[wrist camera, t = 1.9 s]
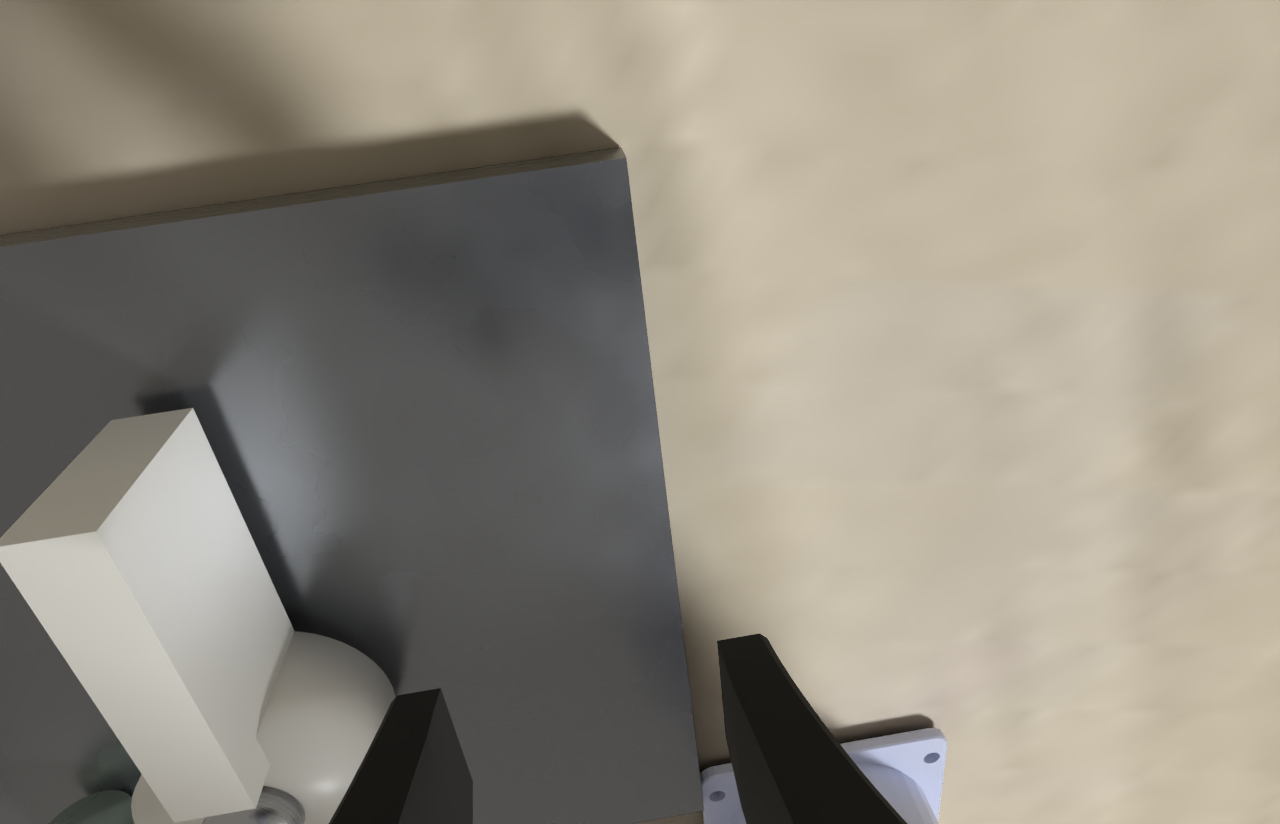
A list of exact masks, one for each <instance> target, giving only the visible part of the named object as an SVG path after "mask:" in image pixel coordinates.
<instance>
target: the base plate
mask: <svg viewBox="0 0 1280 824" xmlns="http://www.w3.org/2000/svg"><path fill="white" fill-rule="evenodd" d="M188 408H193V409H194V411H195V413H196V415H197V418H198V420H199V422H200V424H201V426H202V429H203V431H204V433H205V435H206V437H207V440H208V442H209V444H210V446H211V448H212V451H213V453H214V455H215V457H216V459H217V462H218V464H219V466H220V468H221V471H222V473H223V475H224V477H225V479H226V482H227V484H228V486H229V488H230V490H231V493H232V495H233V497H234V499H235V501H236V504H237V506H238V508H239V510H240V512H241V515H242V517H243V519H244V521H245V523H246V526H247V528H248V530H249V532H250V534H251V537H252V539H253V541H254V543H255V545H256V548H257V550H258V552H259V554H260V556H261V559H262V561H263V563H264V565H265V567H266V570H267V572H268V574H269V576H270V578H271V581H272V583H273V585H274V587H275V589H276V592H277V594H278V596H279V598H280V600H281V603H282V605H283V607H284V609H285V611H286V614H287V616H288V618H289V620H290V622H291V625H292V627H293V629H294V631H298V632H306V633H312V634H318V635H322V636H325V637H329V638H332V639H335V640H338V641H340V642H343V643H345V644H347V645H349V646H351V647H353V648H355V649H357V650H359V651H360V652H362V653H363V654H365V655H366V656H368V657H369V658H370V659H371V660H373V661H374V662H375V663H376V664H377V665H378V666H379V667H380V668H381V669H382V670H383V672H384V673H385V675H386V676H387V677H388V679H389V681H390V683H391V685H392V687H393V690H394V693H395V697H396V696H397V695H403V694H408V693H414V692H420V691H426V690H432V689H438V688H441V690H442V693H443V696H444V699H445V702H446V705H447V708H448V711H449V713H450V716H451V719H452V722H453V725H454V728H455V731H456V734H457V737H458V740H459V742H460V745H461V748H462V751H463V754H464V757H465V760H466V763H467V766H468V768H469V771H470V774H471V777H472V780H473V824H633V823H639V822H644V821H650V820H656V819H661V818H667V817H672V816H678V815H683V814H689V813H695V812H700V811H704V805H703V797H702V788H701V780H700V772H699V763H698V755H697V747H696V738H695V730H694V721H693V713H692V705H691V696H690V688H689V680H688V671H687V663H686V655H685V646H684V638H683V629H682V621H681V613H680V604H679V596H678V588H677V579H676V571H675V562H674V554H673V546H672V537H671V529H670V521H669V512H668V504H667V496H666V487H665V479H664V470H663V462H662V454H661V445H660V437H659V429H658V420H657V412H656V403H655V395H654V387H653V378H652V370H651V362H650V353H649V345H648V336H647V328H646V320H645V311H644V303H643V295H642V286H641V278H640V270H639V261H638V253H637V244H636V236H635V228H634V219H633V211H632V203H631V194H630V186H629V177H628V169H627V161H626V156H625V154H624V152H623V150H622V148H621V147H620V148H613V149H606V150H599V151H592V152H585V153H578V154H571V155H564V156H557V157H550V158H543V159H536V160H529V161H522V162H515V163H508V164H501V165H493V166H486V167H479V168H472V169H465V170H458V171H451V172H444V173H437V174H430V175H423V176H416V177H409V178H402V179H395V180H388V181H381V182H374V183H367V184H360V185H353V186H346V187H338V188H331V189H324V190H317V191H310V192H303V193H296V194H289V195H282V196H275V197H268V198H261V199H254V200H247V201H240V202H233V203H226V204H219V205H212V206H205V207H198V208H191V209H184V210H176V211H169V212H162V213H155V214H148V215H141V216H134V217H127V218H120V219H113V220H106V221H99V222H92V223H85V224H78V225H71V226H64V227H57V228H50V229H43V230H36V231H29V232H21V233H14V234H7V235H0V538H1V537H2V536H3V535H4V533H5V532H6V531H7V530H8V529H9V528H10V527H11V526H12V525H13V524H14V523H15V522H16V521H17V520H18V519H19V518H20V516H21V515H22V514H23V513H24V512H25V511H26V510H27V509H28V508H29V507H30V506H31V505H32V504H33V503H34V502H35V501H36V499H37V498H38V497H39V496H40V495H41V494H42V493H43V492H44V491H45V490H46V489H47V488H48V487H49V486H50V485H51V484H52V483H53V481H54V480H55V479H56V478H57V477H58V476H59V475H60V474H61V473H62V472H63V471H64V470H65V469H66V468H67V467H68V466H69V464H70V463H71V462H72V461H73V460H74V459H75V458H76V457H77V456H78V455H79V454H80V453H81V452H82V451H83V450H84V449H85V447H86V446H87V445H88V444H89V443H90V442H91V441H92V440H93V439H94V438H95V437H96V436H97V435H98V434H99V433H100V432H101V430H102V429H103V428H104V427H105V426H106V425H107V424H108V423H109V422H110V421H111V420H116V419H122V418H129V417H135V416H142V415H149V414H155V413H162V412H168V411H175V410H181V409H188ZM140 777H141V772H140V771H139V769H138V768H137V766H136V765H135V763H134V762H133V760H132V759H131V757H130V756H129V754H128V753H127V751H126V750H125V748H124V747H123V745H122V744H121V742H120V741H119V739H118V738H117V736H116V735H115V733H114V732H113V730H112V729H111V727H110V726H109V724H108V723H107V721H106V720H105V718H104V717H103V715H102V714H101V712H100V711H99V709H98V708H97V706H96V705H95V703H94V702H93V700H92V699H91V697H90V696H89V694H88V693H87V691H86V690H85V688H84V687H83V685H82V684H81V682H80V681H79V680H78V678H77V677H76V675H75V674H74V672H73V671H72V669H71V668H70V666H69V665H68V663H67V662H66V660H65V659H64V657H63V656H62V654H61V653H60V651H59V650H58V648H57V647H56V645H55V644H54V642H53V641H52V639H51V638H50V636H49V635H48V633H47V632H46V630H45V629H44V627H43V626H42V624H41V623H40V621H39V620H38V618H37V617H36V615H35V614H34V612H33V611H32V609H31V608H30V606H29V605H28V603H27V602H26V600H25V599H24V597H23V596H22V594H21V593H20V591H19V590H18V588H17V587H16V585H15V584H14V582H13V581H12V579H11V578H10V576H9V575H8V573H7V572H6V570H5V569H4V567H3V566H2V564H1V563H0V824H135V823H134V820H133V817H132V810H131V802H132V795H133V792H134V789H135V787H136V785H137V783H138V781H139V779H140Z"/></svg>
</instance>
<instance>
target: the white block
mask: <svg viewBox="0 0 1280 824" xmlns="http://www.w3.org/2000/svg"><path fill="white" fill-rule="evenodd" d="M0 563H1V564H2V566H3V567H4V569H5V570H6V572H7V573H8V575H9V576H10V578H11V579H12V581H13V582H14V584H15V585H16V587H17V588H18V590H19V591H20V593H21V594H22V596H23V597H24V599H25V600H26V602H27V603H28V605H29V606H30V608H31V609H32V611H33V612H34V614H35V615H36V617H37V618H38V620H39V621H40V623H41V624H42V626H43V627H44V629H45V630H46V632H47V633H48V635H49V636H50V638H51V639H52V641H53V642H54V644H55V645H56V647H57V648H58V650H59V651H60V653H61V654H62V656H63V657H64V659H65V660H66V662H67V663H68V665H69V666H70V668H71V669H72V671H73V672H74V674H75V675H76V677H77V678H78V680H79V681H80V682H81V684H82V685H83V687H84V688H85V690H86V691H87V693H88V694H89V696H90V697H91V699H92V700H93V702H94V703H95V705H96V706H97V708H98V709H99V711H100V712H101V714H102V715H103V717H104V718H105V720H106V721H107V723H108V724H109V726H110V727H111V729H112V730H113V732H114V733H115V735H116V736H117V738H118V739H119V741H120V742H121V744H122V745H123V747H124V748H125V750H126V751H127V753H128V754H129V756H130V757H131V759H132V760H133V762H134V763H135V765H136V766H137V768H138V769H139V771H140V772H141V777H140V779H139V781H138V783H137V785H136V787H135V789H134V792H133V795H132V802H131V810H132V817H133V820H134V823H135V824H329V822H330V820H331V818H332V817H333V815H334V813H335V811H336V809H337V808H338V806H339V804H340V802H341V801H342V799H343V797H344V795H345V793H346V791H347V789H348V788H349V786H350V784H351V782H352V780H353V778H354V776H355V774H356V772H357V770H358V768H359V767H360V765H361V763H362V761H363V759H364V757H365V755H366V753H367V751H368V749H369V747H370V745H371V743H372V741H373V739H374V737H375V735H376V733H377V731H378V729H379V727H380V725H381V723H382V721H383V719H384V716H385V714H386V712H387V710H388V708H389V706H390V704H391V702H392V701H393V700H394V699H395V693H394V690H393V687H392V685H391V683H390V681H389V679H388V677H387V676H386V675H385V673H384V672H383V670H382V669H381V668H380V667H379V666H378V665H377V664H376V663H375V662H374V661H373V660H371V659H370V658H369V657H368V656H366V655H365V654H363V653H362V652H360V651H359V650H357V649H355V648H353V647H351V646H349V645H347V644H345V643H343V642H340V641H338V640H335V639H332V638H329V637H325V636H322V635H318V634H312V633H306V632H298V631H294V629H293V627H292V625H291V622H290V620H289V618H288V616H287V614H286V611H285V609H284V607H283V605H282V603H281V600H280V598H279V596H278V594H277V592H276V589H275V587H274V585H273V583H272V581H271V578H270V576H269V574H268V572H267V570H266V567H265V565H264V563H263V561H262V559H261V556H260V554H259V552H258V550H257V548H256V545H255V543H254V541H253V539H252V537H251V534H250V532H249V530H248V528H247V526H246V523H245V521H244V519H243V517H242V515H241V512H240V510H239V508H238V506H237V504H236V501H235V499H234V497H233V495H232V493H231V490H230V488H229V486H228V484H227V482H226V479H225V477H224V475H223V473H222V471H221V468H220V466H219V464H218V462H217V459H216V457H215V455H214V453H213V451H212V448H211V446H210V444H209V442H208V440H207V437H206V435H205V433H204V431H203V429H202V426H201V424H200V422H199V420H198V418H197V415H196V413H195V411H194V409H193V408H188V409H181V410H175V411H168V412H162V413H155V414H149V415H142V416H135V417H129V418H122V419H116V420H111V421H110V422H109V423H108V424H107V425H106V426H105V427H104V428H103V429H102V430H101V432H100V433H99V434H98V435H97V436H96V437H95V438H94V439H93V440H92V441H91V442H90V443H89V444H88V445H87V446H86V447H85V449H84V450H83V451H82V452H81V453H80V454H79V455H78V456H77V457H76V458H75V459H74V460H73V461H72V462H71V463H70V464H69V466H68V467H67V468H66V469H65V470H64V471H63V472H62V473H61V474H60V475H59V476H58V477H57V478H56V479H55V480H54V481H53V483H52V484H51V485H50V486H49V487H48V488H47V489H46V490H45V491H44V492H43V493H42V494H41V495H40V496H39V497H38V498H37V499H36V501H35V502H34V503H33V504H32V505H31V506H30V507H29V508H28V509H27V510H26V511H25V512H24V513H23V514H22V515H21V516H20V518H19V519H18V520H17V521H16V522H15V523H14V524H13V525H12V526H11V527H10V528H9V529H8V530H7V531H6V532H5V533H4V535H3V536H2V537H1V538H0Z"/></svg>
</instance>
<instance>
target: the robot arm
mask: <svg viewBox="0 0 1280 824" xmlns="http://www.w3.org/2000/svg"><path fill="white" fill-rule="evenodd" d="M717 644H718V655H719V666H720V677H721V688H722V699H723V710H724V721H725V732H726V739H727V744H728V749H729V753H730V758H731V762H732V763H728V764H723V765H717V766H712V767H709V768H707V769H705V770H703V771H702V773H701V774H700V780H701V788H702V797H703V805H704V811H703V819H704V824H939V823H938V817H939V809H940V801H941V792H942V784H943V776H944V768H945V759H946V751H947V740H946V738H945V736H944V734H943V732H942V731H941V730H940V729H936V728H926V729H920V730H914V731H909V732H903V733H898V734H892V735H886V736H881V737H875V738H869V739H864V740H858V741H852V742H847V743H841V744H839V742H838V741H837V740H836V739H835V737H834V736H833V735H832V733H831V732H830V731H829V730H828V728H827V727H826V726H825V724H824V723H823V722H822V720H821V719H820V718H819V716H818V715H817V714H816V712H815V711H814V710H813V708H812V707H811V705H810V704H809V703H808V701H807V700H806V698H805V697H804V696H803V694H802V693H801V691H800V690H799V689H798V687H797V686H796V684H795V683H794V681H793V680H792V678H791V677H790V675H789V674H788V672H787V671H786V669H785V667H784V666H783V664H782V663H781V661H780V659H779V658H778V656H777V655H776V653H775V651H774V650H773V648H772V646H771V644H770V642H769V641H768V639H767V638H766V637H764V636H763V635H761V634H755V635H749V636H743V637H737V638H731V639H726V640H720V641H717ZM329 824H473V780H472V777H471V774H470V771H469V768H468V766H467V763H466V760H465V757H464V754H463V751H462V748H461V745H460V742H459V740H458V737H457V734H456V731H455V728H454V725H453V722H452V719H451V716H450V713H449V711H448V708H447V705H446V702H445V699H444V696H443V693H442V690H441V688H438V689H432V690H426V691H420V692H414V693H408V694H403V695H397V696H396V697H395V699H394V700H393V701H392V702H391V704H390V706H389V708H388V710H387V712H386V714H385V716H384V719H383V721H382V723H381V725H380V727H379V729H378V731H377V733H376V735H375V737H374V739H373V741H372V743H371V745H370V747H369V749H368V751H367V753H366V755H365V757H364V759H363V761H362V763H361V765H360V767H359V768H358V770H357V772H356V774H355V776H354V778H353V780H352V782H351V784H350V786H349V788H348V789H347V791H346V793H345V795H344V797H343V799H342V801H341V802H340V804H339V806H338V808H337V809H336V811H335V813H334V815H333V817H332V818H331V820H330V822H329Z"/></svg>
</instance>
